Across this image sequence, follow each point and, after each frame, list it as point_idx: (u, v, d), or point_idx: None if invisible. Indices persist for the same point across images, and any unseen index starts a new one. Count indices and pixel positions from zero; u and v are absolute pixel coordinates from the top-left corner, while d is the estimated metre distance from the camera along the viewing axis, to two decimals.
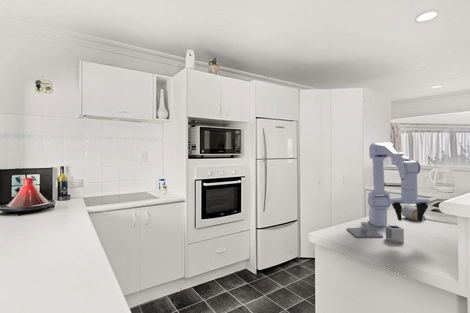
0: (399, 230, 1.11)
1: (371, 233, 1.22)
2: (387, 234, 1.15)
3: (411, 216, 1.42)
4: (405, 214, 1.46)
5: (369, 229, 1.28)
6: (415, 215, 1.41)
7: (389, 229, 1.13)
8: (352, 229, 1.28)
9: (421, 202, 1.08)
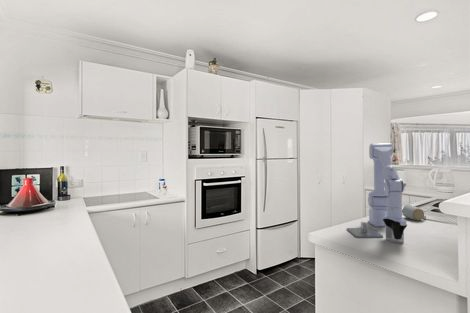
0: None
1: (371, 233, 1.22)
2: (387, 234, 1.15)
3: (412, 216, 1.42)
4: (406, 214, 1.46)
5: (369, 229, 1.28)
6: (416, 215, 1.41)
7: (389, 229, 1.13)
8: (352, 229, 1.28)
9: (399, 222, 1.09)
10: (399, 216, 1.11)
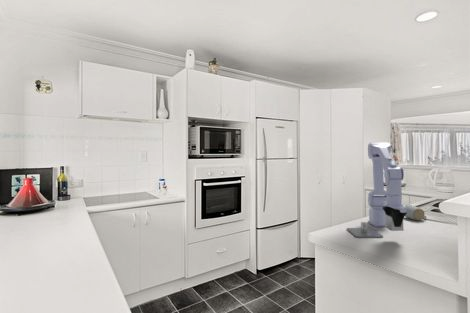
0: None
1: (371, 233, 1.22)
2: (387, 223, 1.15)
3: (412, 216, 1.42)
4: (406, 214, 1.46)
5: (369, 229, 1.28)
6: (416, 215, 1.41)
7: (389, 217, 1.13)
8: (352, 229, 1.28)
9: (399, 209, 1.09)
10: (399, 204, 1.11)
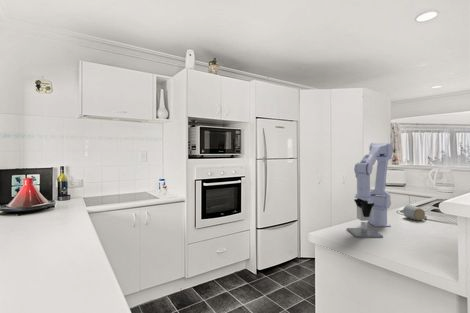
0: None
1: (371, 233, 1.22)
2: (357, 214, 1.26)
3: (412, 216, 1.42)
4: (406, 214, 1.46)
5: (369, 229, 1.28)
6: (416, 215, 1.41)
7: (359, 208, 1.24)
8: (352, 229, 1.28)
9: (367, 201, 1.19)
10: (367, 196, 1.21)
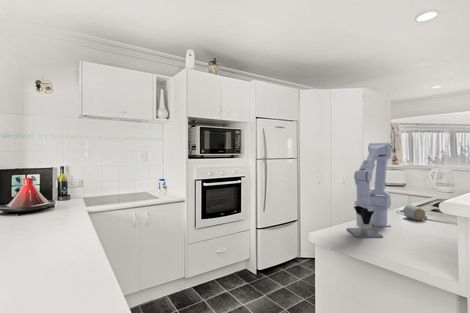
0: None
1: (371, 233, 1.22)
2: (357, 221, 1.26)
3: (413, 216, 1.42)
4: (407, 214, 1.46)
5: (369, 229, 1.28)
6: (417, 215, 1.41)
7: (359, 216, 1.24)
8: (352, 229, 1.28)
9: None
10: (367, 203, 1.21)
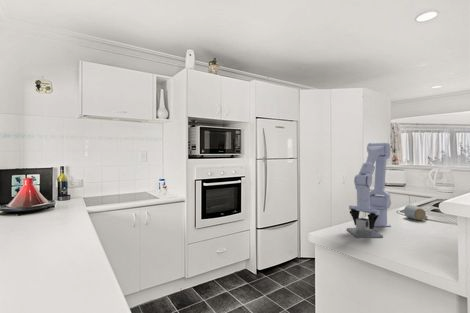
0: None
1: (371, 233, 1.22)
2: (358, 227, 1.24)
3: (413, 216, 1.42)
4: (407, 214, 1.46)
5: None
6: (417, 215, 1.41)
7: (362, 222, 1.23)
8: (352, 229, 1.28)
9: (372, 212, 1.20)
10: (369, 207, 1.22)
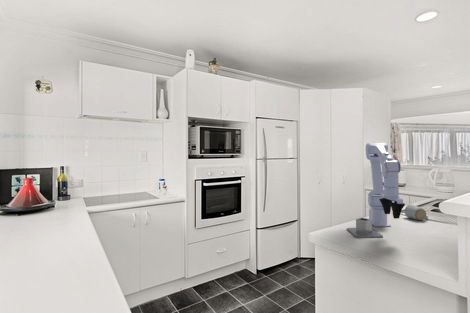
0: (369, 221, 1.23)
1: (371, 233, 1.22)
2: (358, 227, 1.24)
3: (414, 216, 1.42)
4: (408, 214, 1.46)
5: None
6: (418, 215, 1.41)
7: (362, 222, 1.23)
8: (352, 229, 1.28)
9: (396, 201, 1.13)
10: (396, 195, 1.15)
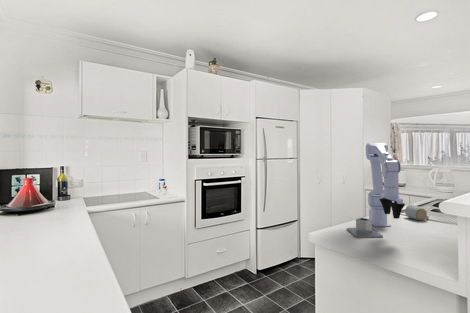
0: (369, 221, 1.23)
1: (371, 233, 1.22)
2: (358, 227, 1.24)
3: (414, 216, 1.42)
4: (408, 214, 1.46)
5: None
6: (418, 215, 1.41)
7: (362, 222, 1.23)
8: (352, 229, 1.28)
9: (396, 201, 1.13)
10: (396, 195, 1.15)
